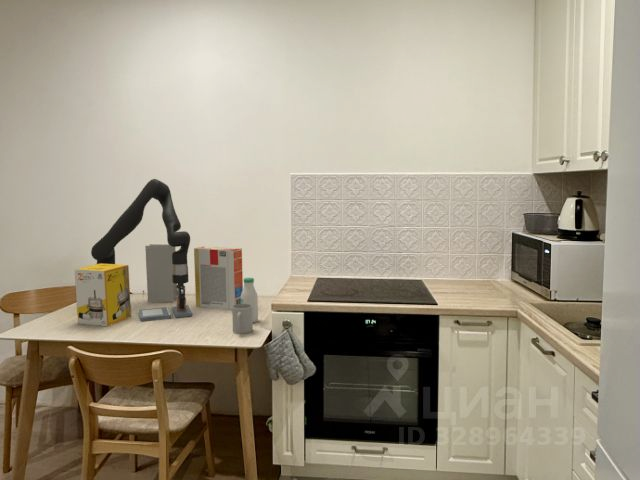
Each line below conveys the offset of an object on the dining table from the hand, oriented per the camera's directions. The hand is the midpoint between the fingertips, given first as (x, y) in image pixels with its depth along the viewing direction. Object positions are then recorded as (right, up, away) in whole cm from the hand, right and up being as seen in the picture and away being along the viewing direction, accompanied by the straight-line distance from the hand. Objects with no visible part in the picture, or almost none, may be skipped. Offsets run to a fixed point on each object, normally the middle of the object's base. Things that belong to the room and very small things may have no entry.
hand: (181, 307), depth 250 cm
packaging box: (-33, -5, -11) cm, 35 cm away
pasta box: (+16, -1, +13) cm, 21 cm away
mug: (+34, -7, -30) cm, 46 cm away
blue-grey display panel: (-12, -3, -4) cm, 13 cm away
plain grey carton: (-17, 0, +26) cm, 31 cm away
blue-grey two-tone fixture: (0, -3, 0) cm, 3 cm away
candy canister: (+35, -5, -14) cm, 38 cm away
